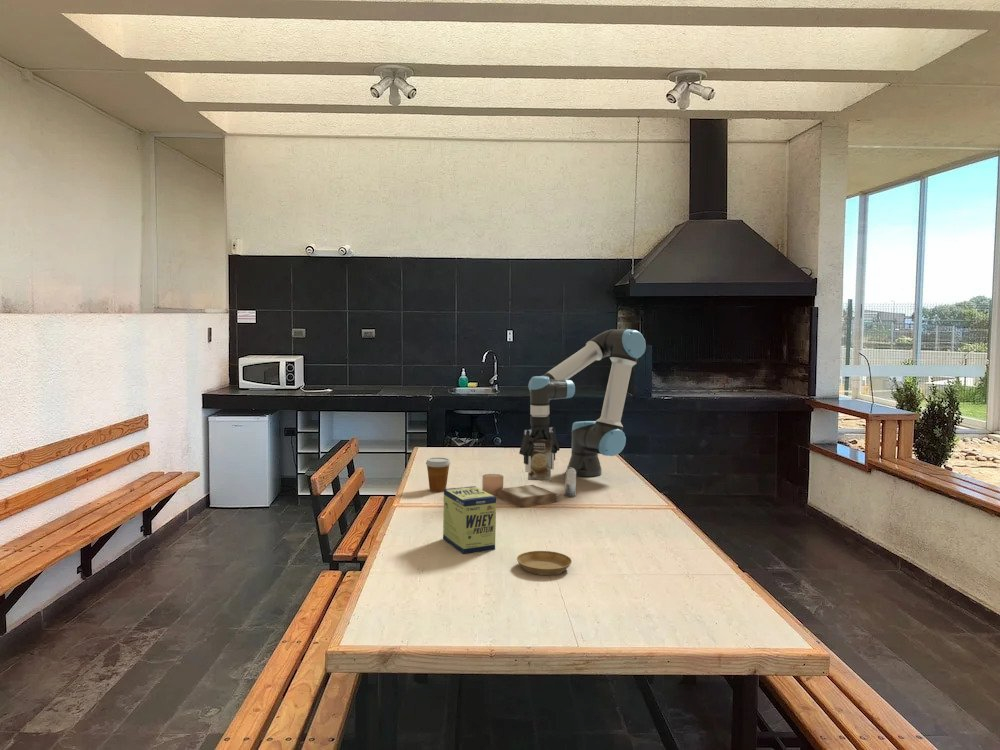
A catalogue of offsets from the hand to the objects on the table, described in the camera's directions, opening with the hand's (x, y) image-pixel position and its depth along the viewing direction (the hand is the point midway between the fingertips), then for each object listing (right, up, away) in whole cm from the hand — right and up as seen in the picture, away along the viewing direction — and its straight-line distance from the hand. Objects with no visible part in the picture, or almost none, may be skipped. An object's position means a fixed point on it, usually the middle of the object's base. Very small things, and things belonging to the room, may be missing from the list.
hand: (539, 470), depth 278 cm
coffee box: (0, -4, 0) cm, 4 cm away
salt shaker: (+11, -8, -11) cm, 18 cm away
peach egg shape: (-19, -8, -11) cm, 23 cm away
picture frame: (-6, -8, -18) cm, 21 cm away
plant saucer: (-4, -14, -90) cm, 92 cm away
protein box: (-25, -12, -71) cm, 77 cm away
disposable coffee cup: (-40, -7, -6) cm, 41 cm away
